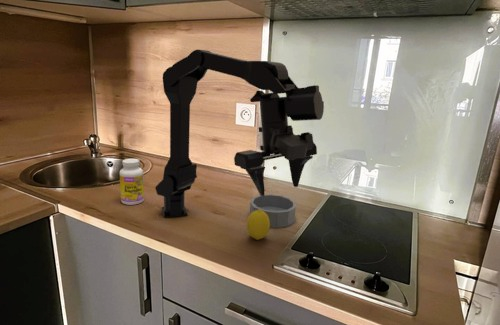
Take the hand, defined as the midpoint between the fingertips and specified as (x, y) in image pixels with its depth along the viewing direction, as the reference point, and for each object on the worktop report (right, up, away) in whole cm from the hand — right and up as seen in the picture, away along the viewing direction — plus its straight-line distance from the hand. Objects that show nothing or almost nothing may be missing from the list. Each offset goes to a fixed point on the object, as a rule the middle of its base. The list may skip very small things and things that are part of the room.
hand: (279, 191), depth 72 cm
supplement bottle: (-42, -6, +25) cm, 49 cm away
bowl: (0, -9, +19) cm, 21 cm away
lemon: (-5, -13, +6) cm, 15 cm away
